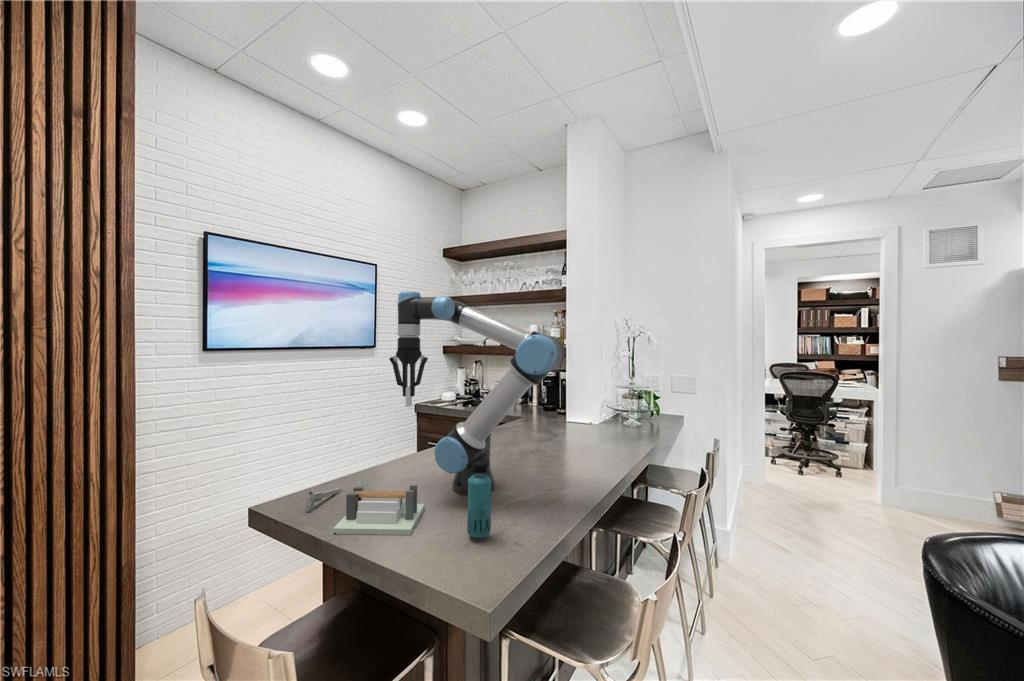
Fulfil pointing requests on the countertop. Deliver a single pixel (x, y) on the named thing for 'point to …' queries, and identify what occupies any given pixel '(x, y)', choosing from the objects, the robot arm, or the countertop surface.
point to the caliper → (318, 497)
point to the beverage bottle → (479, 502)
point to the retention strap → (380, 494)
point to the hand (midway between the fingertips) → (408, 406)
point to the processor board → (380, 527)
